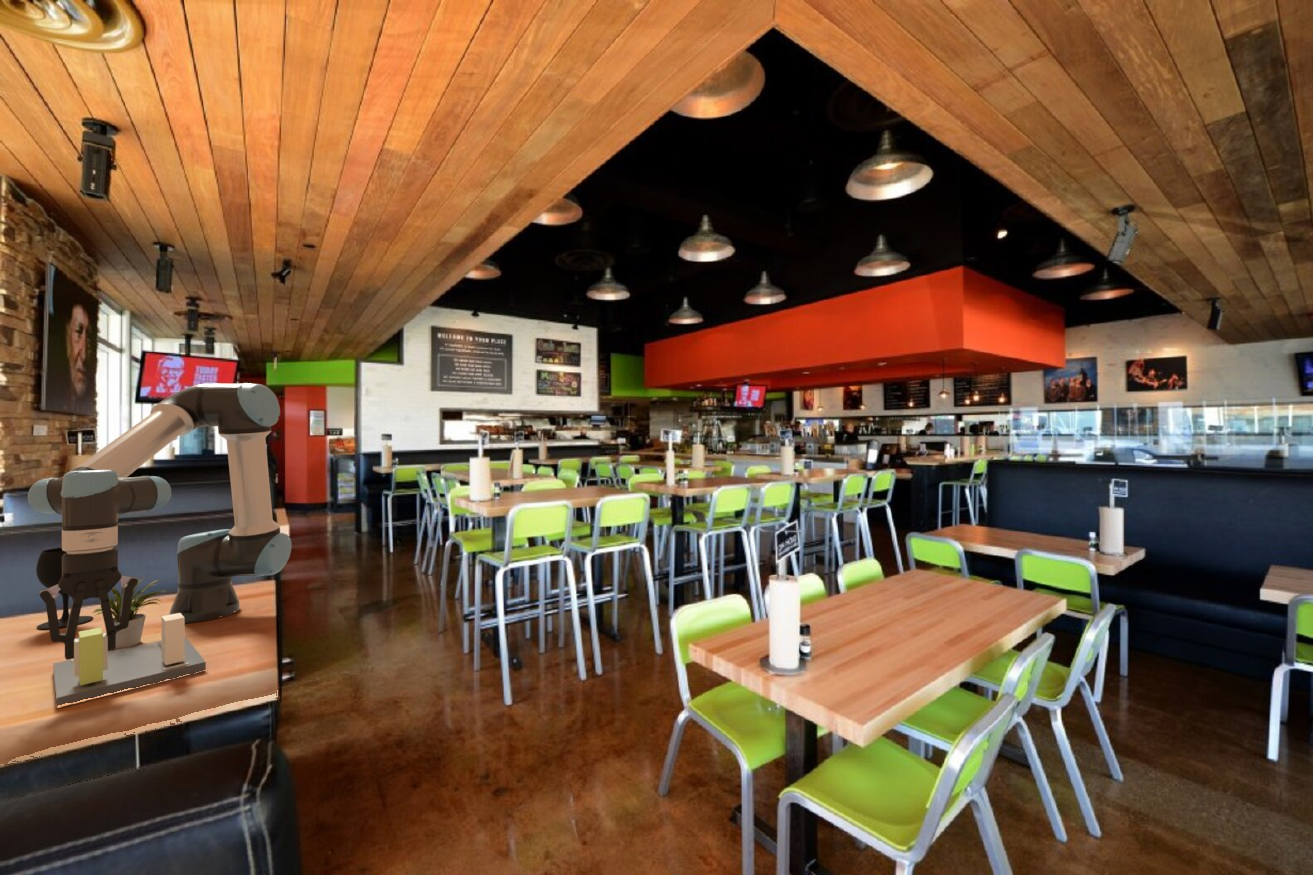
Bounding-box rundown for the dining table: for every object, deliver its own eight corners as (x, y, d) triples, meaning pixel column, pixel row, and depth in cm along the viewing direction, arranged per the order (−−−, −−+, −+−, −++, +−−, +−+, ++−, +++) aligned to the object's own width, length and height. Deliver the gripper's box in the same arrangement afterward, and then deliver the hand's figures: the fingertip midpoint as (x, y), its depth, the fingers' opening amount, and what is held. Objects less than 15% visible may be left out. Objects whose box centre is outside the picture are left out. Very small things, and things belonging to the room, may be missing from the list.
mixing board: (184, 643, 130) (184, 634, 130) (205, 671, 114) (205, 660, 114) (53, 672, 114) (53, 662, 114) (56, 708, 98) (56, 696, 98)
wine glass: (91, 614, 153) (91, 543, 153) (95, 622, 146) (95, 548, 146) (35, 624, 145) (35, 549, 145) (37, 632, 138) (37, 554, 138)
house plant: (108, 660, 120) (108, 586, 120) (61, 655, 123) (61, 583, 123) (176, 637, 134) (176, 571, 134) (133, 633, 137) (133, 569, 137)
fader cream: (180, 654, 117) (180, 612, 117) (184, 660, 113) (184, 617, 114) (161, 658, 114) (161, 616, 115) (165, 665, 111) (165, 621, 111)
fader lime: (100, 672, 108) (100, 627, 108) (102, 680, 104) (102, 633, 104) (78, 678, 105) (78, 631, 105) (80, 685, 102) (80, 637, 102)
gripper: (26, 559, 96) (26, 691, 96) (149, 545, 109) (149, 663, 108) (27, 554, 101) (27, 679, 101) (144, 541, 114) (144, 653, 113)
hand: (90, 671), depth 105 cm, fingers closed on fader lime, 3 cm apart
